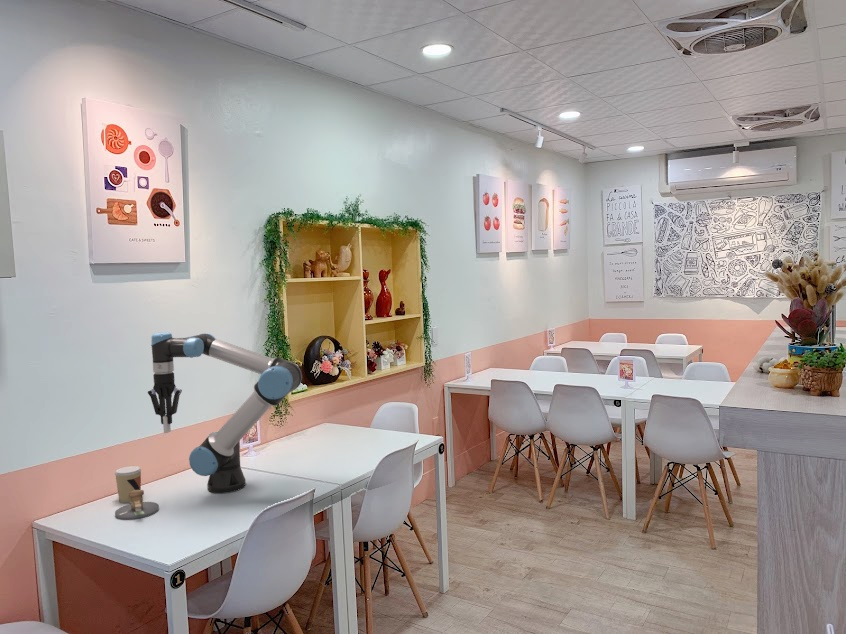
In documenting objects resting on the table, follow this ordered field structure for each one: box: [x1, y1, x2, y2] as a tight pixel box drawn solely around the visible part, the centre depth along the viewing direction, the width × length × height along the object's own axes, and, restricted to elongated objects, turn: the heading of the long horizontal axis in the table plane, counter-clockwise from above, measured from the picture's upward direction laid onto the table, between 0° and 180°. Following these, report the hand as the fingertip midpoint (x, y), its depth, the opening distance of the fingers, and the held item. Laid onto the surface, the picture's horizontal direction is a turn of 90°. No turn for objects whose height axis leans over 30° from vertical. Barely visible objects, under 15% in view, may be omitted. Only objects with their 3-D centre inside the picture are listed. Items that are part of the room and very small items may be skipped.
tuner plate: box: [114, 501, 160, 521], centre depth 242 cm, size 15×15×1 cm
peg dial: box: [129, 489, 145, 512], centre depth 239 cm, size 12×5×6 cm, turn 27°
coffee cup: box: [114, 465, 142, 504], centre depth 256 cm, size 9×9×12 cm
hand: (167, 432), depth 254 cm, fingers closed
